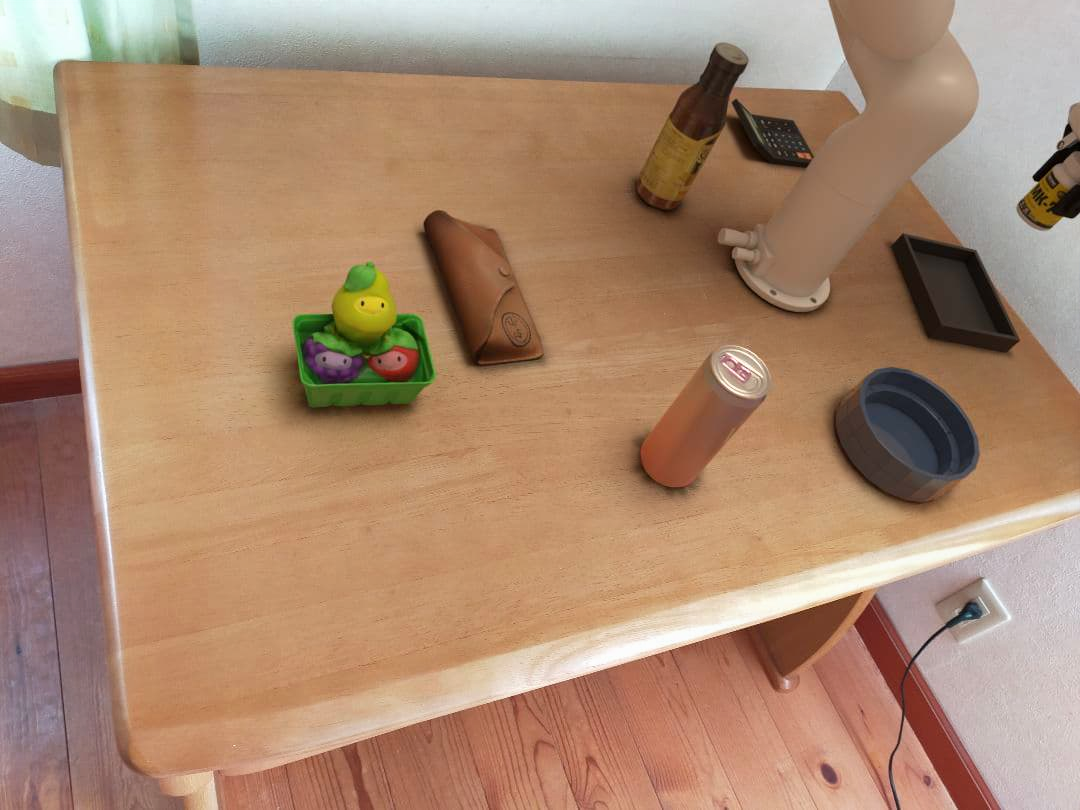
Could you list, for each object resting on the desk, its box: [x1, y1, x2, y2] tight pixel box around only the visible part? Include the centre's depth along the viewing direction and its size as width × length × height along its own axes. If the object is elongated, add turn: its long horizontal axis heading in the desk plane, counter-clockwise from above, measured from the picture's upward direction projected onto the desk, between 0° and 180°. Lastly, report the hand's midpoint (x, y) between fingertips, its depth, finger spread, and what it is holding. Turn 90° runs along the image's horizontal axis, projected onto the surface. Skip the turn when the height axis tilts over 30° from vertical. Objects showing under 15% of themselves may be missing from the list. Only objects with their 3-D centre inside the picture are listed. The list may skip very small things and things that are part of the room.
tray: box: [891, 232, 1021, 353], centre depth 115 cm, size 16×12×2 cm
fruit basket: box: [291, 261, 437, 409], centre depth 75 cm, size 11×9×11 cm
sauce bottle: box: [635, 41, 750, 211], centre depth 102 cm, size 7×6×20 cm
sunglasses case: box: [422, 209, 545, 366], centre depth 89 cm, size 18×7×7 cm, turn 21°
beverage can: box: [640, 344, 772, 488], centre depth 79 cm, size 6×6×15 cm
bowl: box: [835, 366, 981, 503], centre depth 94 cm, size 14×14×5 cm
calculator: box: [731, 98, 815, 169], centre depth 124 cm, size 9×12×3 cm
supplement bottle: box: [1015, 151, 1080, 232], centre depth 101 cm, size 5×5×8 cm
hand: (1052, 197), depth 101 cm, fingers closed on supplement bottle, 4 cm apart
